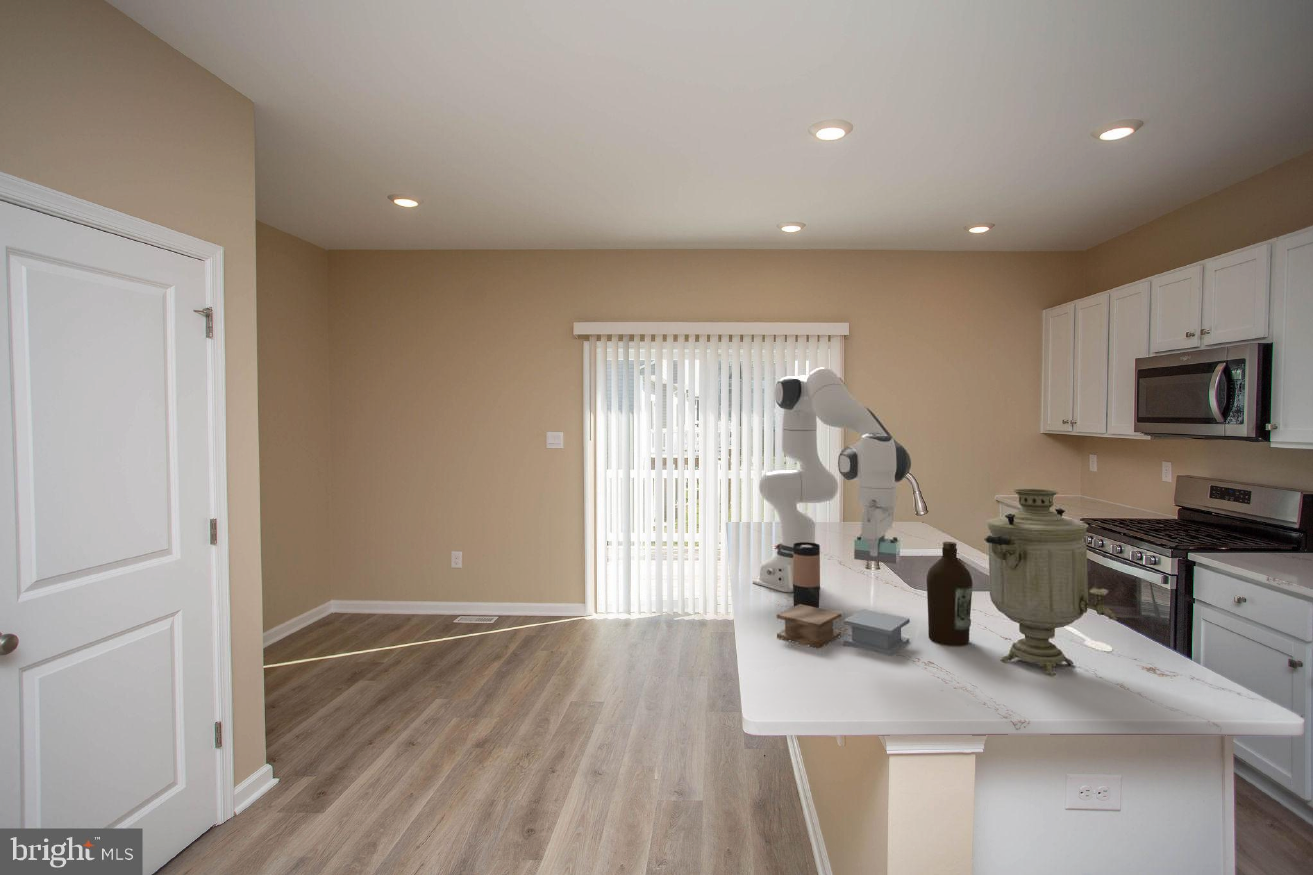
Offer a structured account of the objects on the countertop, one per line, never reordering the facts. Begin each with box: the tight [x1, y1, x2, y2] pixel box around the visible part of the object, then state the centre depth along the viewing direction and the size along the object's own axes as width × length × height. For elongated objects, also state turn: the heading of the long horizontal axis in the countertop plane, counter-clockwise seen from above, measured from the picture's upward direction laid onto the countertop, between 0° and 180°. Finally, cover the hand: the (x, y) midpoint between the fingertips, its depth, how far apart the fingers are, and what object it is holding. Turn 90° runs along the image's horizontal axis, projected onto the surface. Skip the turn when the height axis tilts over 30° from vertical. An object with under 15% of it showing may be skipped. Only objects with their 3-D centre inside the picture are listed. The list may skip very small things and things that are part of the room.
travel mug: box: [792, 542, 821, 608], centre depth 183 cm, size 8×8×20 cm
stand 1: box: [776, 604, 842, 649], centre depth 164 cm, size 12×12×6 cm
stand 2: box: [843, 608, 910, 657], centre depth 159 cm, size 12×12×6 cm
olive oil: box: [926, 541, 973, 647], centre depth 161 cm, size 11×11×25 cm
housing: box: [853, 533, 901, 565], centre depth 159 cm, size 10×5×6 cm, turn 60°
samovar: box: [984, 488, 1117, 677], centre depth 143 cm, size 30×26×40 cm
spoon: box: [1062, 625, 1113, 653], centre depth 162 cm, size 5×18×1 cm, turn 175°
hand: (876, 553), depth 159 cm, fingers closed on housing, 5 cm apart
